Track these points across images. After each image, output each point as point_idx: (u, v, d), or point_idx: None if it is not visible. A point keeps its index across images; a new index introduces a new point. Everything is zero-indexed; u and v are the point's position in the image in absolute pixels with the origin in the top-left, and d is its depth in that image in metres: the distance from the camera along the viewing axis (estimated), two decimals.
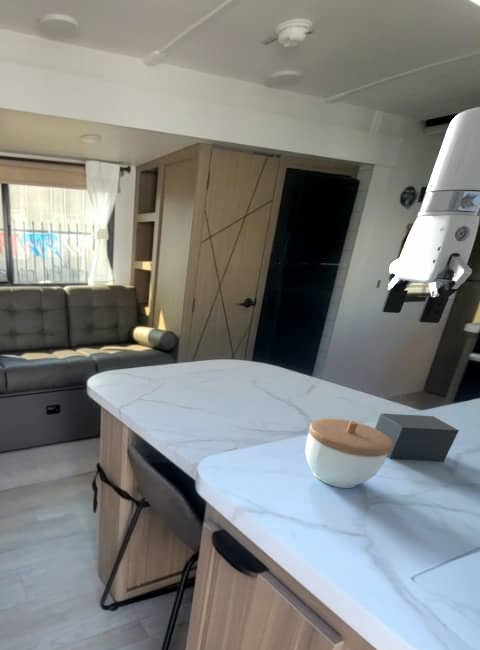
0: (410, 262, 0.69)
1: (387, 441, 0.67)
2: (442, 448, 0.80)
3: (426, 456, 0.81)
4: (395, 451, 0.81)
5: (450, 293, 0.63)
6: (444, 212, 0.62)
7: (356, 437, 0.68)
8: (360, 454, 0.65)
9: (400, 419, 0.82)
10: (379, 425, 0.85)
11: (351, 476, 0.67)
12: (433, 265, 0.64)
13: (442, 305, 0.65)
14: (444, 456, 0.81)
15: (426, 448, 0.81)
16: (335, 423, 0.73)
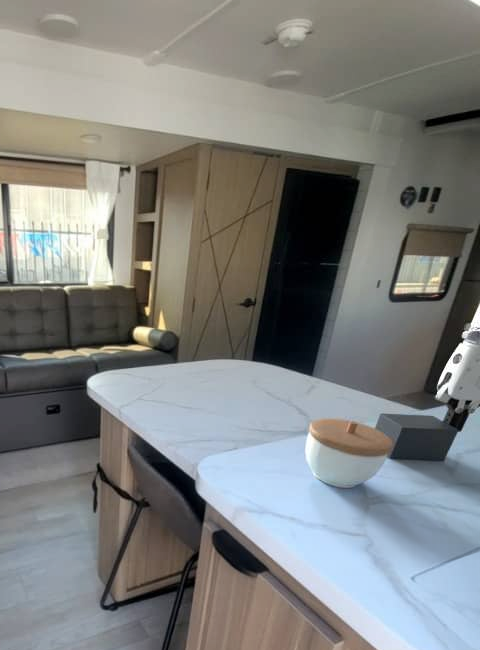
0: None
1: (387, 441, 0.67)
2: (442, 448, 0.80)
3: (426, 456, 0.81)
4: (395, 451, 0.81)
5: (451, 407, 0.80)
6: None
7: (356, 437, 0.68)
8: (360, 454, 0.65)
9: (400, 419, 0.82)
10: (379, 425, 0.85)
11: (351, 476, 0.67)
12: None
13: (451, 416, 0.81)
14: (444, 456, 0.81)
15: (426, 448, 0.81)
16: (335, 423, 0.73)
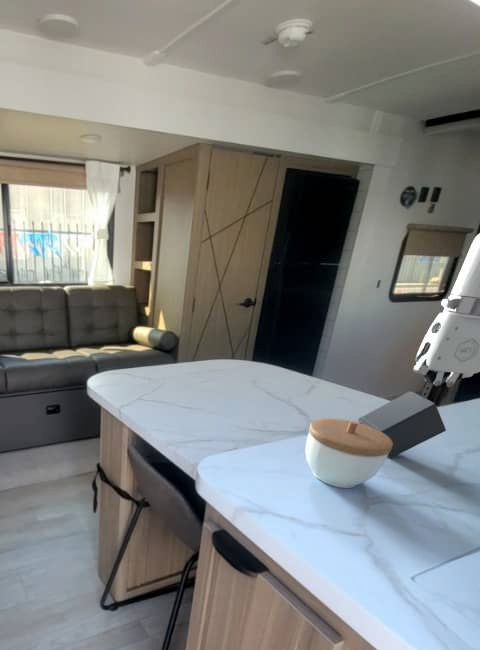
0: None
1: (387, 441, 0.67)
2: (433, 423, 0.78)
3: (424, 437, 0.79)
4: None
5: (429, 380, 0.78)
6: (443, 310, 0.75)
7: (356, 437, 0.68)
8: (360, 454, 0.65)
9: (376, 418, 0.82)
10: None
11: (351, 476, 0.67)
12: None
13: (429, 390, 0.78)
14: (442, 427, 0.78)
15: (417, 432, 0.79)
16: (335, 423, 0.73)
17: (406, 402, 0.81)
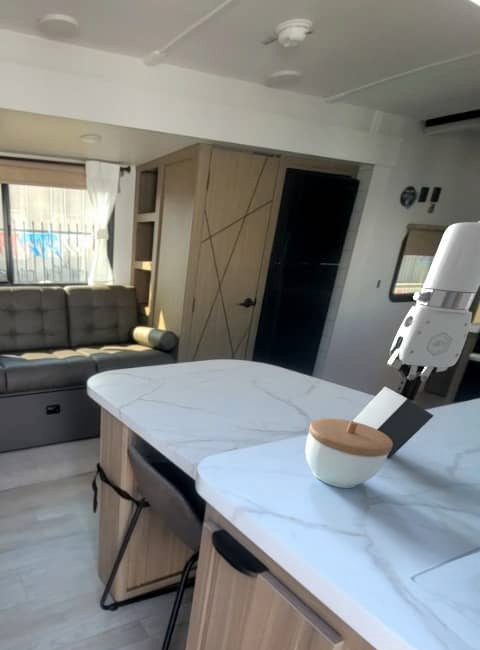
0: None
1: (387, 441, 0.67)
2: (416, 415, 0.77)
3: (414, 429, 0.79)
4: None
5: (403, 374, 0.77)
6: (416, 304, 0.74)
7: (356, 437, 0.68)
8: (360, 454, 0.65)
9: None
10: None
11: (351, 476, 0.67)
12: None
13: (403, 384, 0.78)
14: (428, 414, 0.77)
15: (404, 428, 0.79)
16: (335, 423, 0.73)
17: (383, 401, 0.81)
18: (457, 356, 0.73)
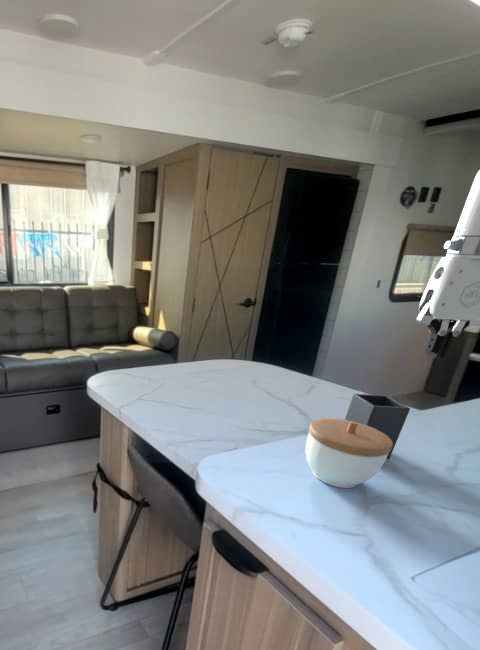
0: None
1: (387, 441, 0.67)
2: (392, 415, 0.78)
3: (398, 426, 0.79)
4: None
5: (433, 330, 0.74)
6: (446, 254, 0.71)
7: (356, 437, 0.68)
8: (360, 454, 0.65)
9: None
10: None
11: (351, 476, 0.67)
12: None
13: (434, 341, 0.74)
14: (403, 409, 0.77)
15: (387, 429, 0.79)
16: (335, 423, 0.73)
17: (356, 410, 0.82)
18: None
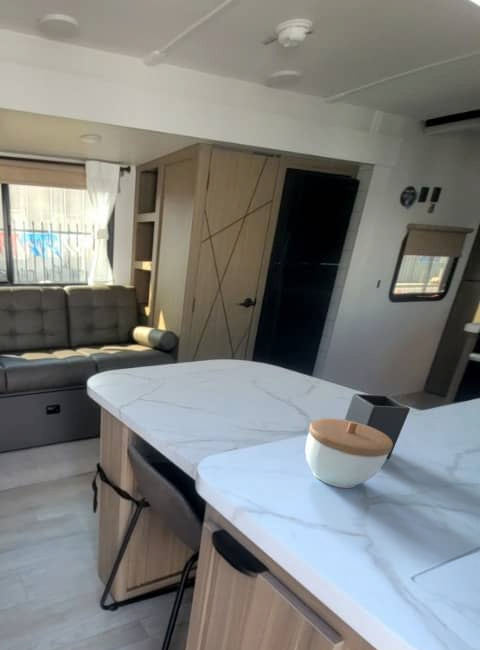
0: None
1: (387, 441, 0.67)
2: (392, 415, 0.78)
3: (398, 426, 0.79)
4: None
5: None
6: None
7: (356, 437, 0.68)
8: (360, 454, 0.65)
9: None
10: None
11: (351, 476, 0.67)
12: None
13: None
14: (403, 409, 0.77)
15: (387, 429, 0.79)
16: (335, 423, 0.73)
17: (356, 410, 0.82)
18: None
